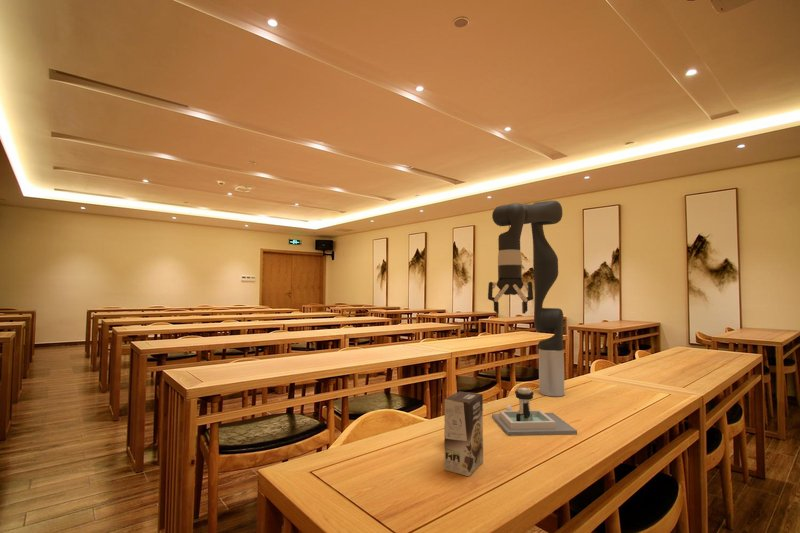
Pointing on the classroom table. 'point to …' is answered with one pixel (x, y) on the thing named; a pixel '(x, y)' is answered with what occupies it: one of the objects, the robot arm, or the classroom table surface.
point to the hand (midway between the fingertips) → (510, 313)
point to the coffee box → (463, 432)
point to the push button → (524, 404)
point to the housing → (532, 423)
